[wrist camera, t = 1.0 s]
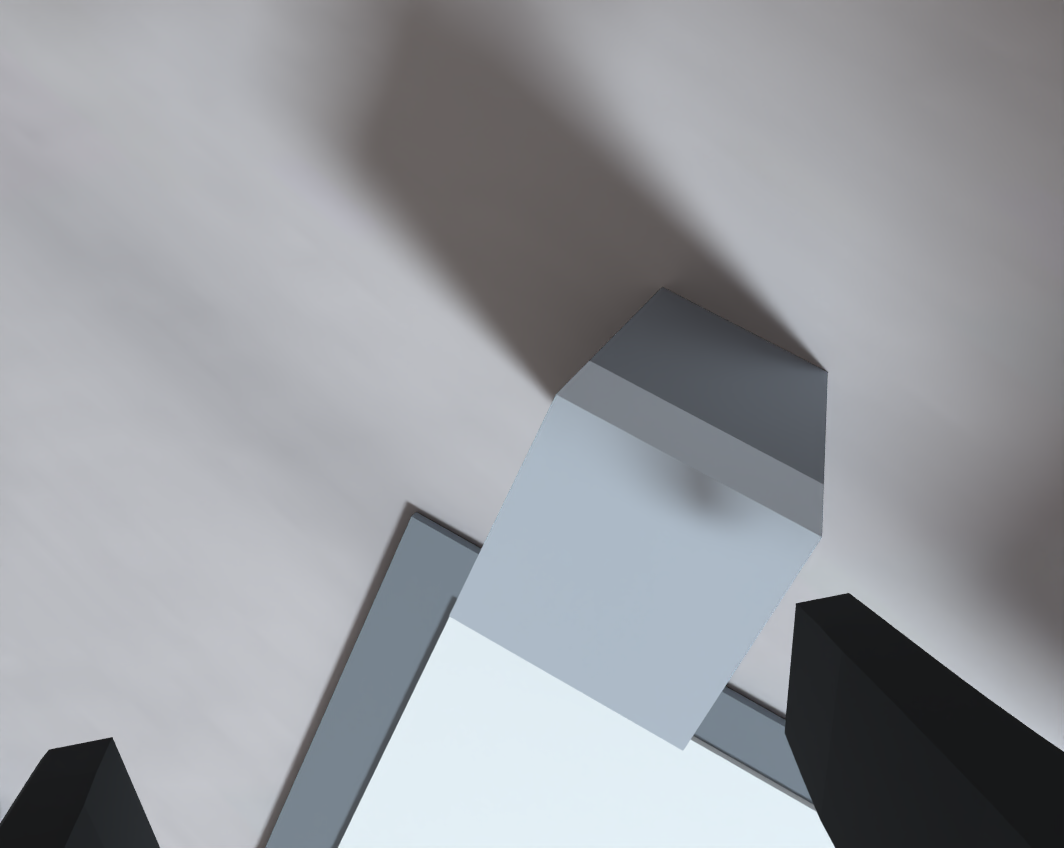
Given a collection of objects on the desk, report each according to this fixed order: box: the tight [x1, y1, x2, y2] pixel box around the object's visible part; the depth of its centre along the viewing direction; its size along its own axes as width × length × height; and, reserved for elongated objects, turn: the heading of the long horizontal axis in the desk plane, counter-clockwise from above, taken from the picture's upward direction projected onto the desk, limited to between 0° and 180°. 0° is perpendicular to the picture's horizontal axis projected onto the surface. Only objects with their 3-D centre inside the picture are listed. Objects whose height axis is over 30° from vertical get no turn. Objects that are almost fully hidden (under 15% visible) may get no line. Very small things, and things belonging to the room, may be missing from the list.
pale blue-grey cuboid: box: [449, 287, 828, 751], centre depth 18 cm, size 4×4×9 cm
